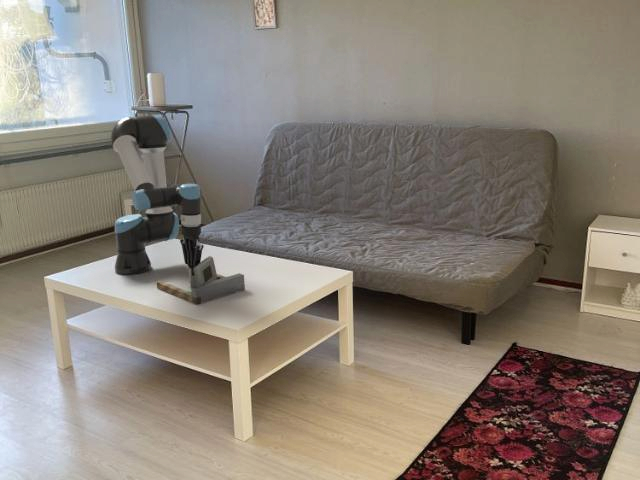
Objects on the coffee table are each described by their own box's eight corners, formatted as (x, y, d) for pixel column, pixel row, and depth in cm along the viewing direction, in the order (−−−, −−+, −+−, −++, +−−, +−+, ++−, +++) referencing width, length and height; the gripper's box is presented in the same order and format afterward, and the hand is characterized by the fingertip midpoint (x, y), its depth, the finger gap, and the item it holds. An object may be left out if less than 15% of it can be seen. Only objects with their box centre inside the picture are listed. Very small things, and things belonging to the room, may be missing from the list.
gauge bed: (156, 287, 250) (156, 281, 250) (203, 274, 265) (203, 268, 264) (196, 304, 231) (196, 297, 230) (244, 289, 245) (244, 283, 245)
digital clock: (201, 296, 239) (205, 270, 236) (181, 289, 242) (184, 263, 239) (224, 284, 254) (227, 259, 251) (205, 278, 257) (208, 253, 254)
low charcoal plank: (192, 302, 233) (190, 287, 231) (240, 287, 247) (239, 273, 246) (196, 304, 231) (195, 289, 229) (244, 289, 245) (244, 274, 244)
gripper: (173, 223, 245) (175, 280, 251) (191, 229, 236) (193, 289, 243) (190, 220, 250) (192, 277, 256) (208, 226, 241) (210, 284, 248)
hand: (192, 282), depth 249 cm, fingers closed
